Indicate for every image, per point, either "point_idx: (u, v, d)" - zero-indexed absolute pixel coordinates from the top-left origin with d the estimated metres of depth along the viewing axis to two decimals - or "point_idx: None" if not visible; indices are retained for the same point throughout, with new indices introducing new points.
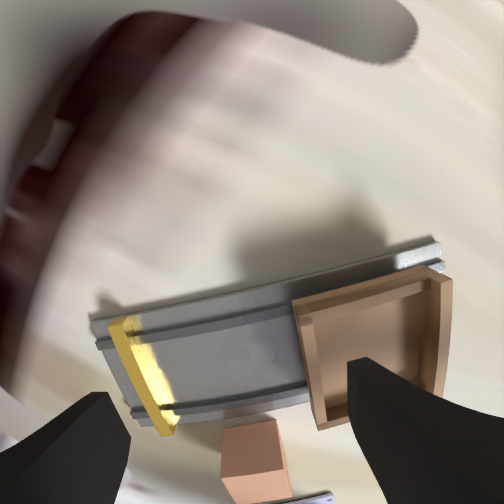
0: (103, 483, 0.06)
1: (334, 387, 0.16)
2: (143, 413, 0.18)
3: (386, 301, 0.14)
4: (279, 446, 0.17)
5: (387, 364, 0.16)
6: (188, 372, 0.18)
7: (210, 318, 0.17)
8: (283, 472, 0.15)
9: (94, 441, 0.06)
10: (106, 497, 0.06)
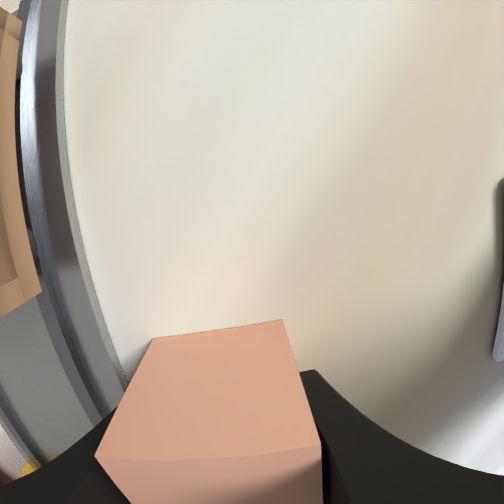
0: None
1: None
2: None
3: None
4: (129, 393, 0.06)
5: None
6: (63, 441, 0.09)
7: None
8: (113, 460, 0.04)
9: None
10: None
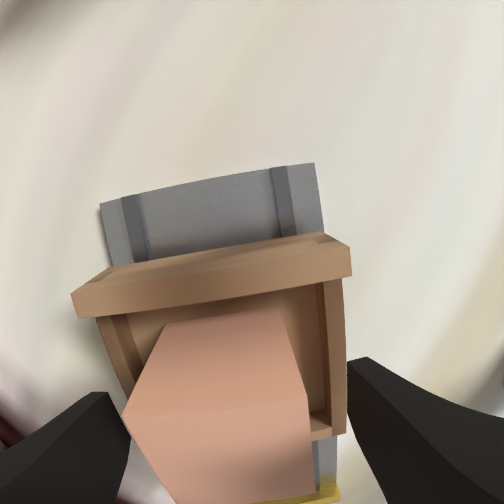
0: (103, 483, 0.06)
1: None
2: None
3: (129, 376, 0.10)
4: (148, 367, 0.08)
5: None
6: None
7: None
8: (138, 418, 0.06)
9: (94, 441, 0.06)
10: (106, 497, 0.06)
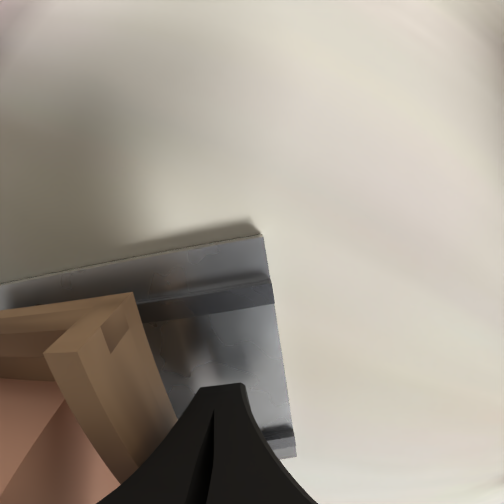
0: None
1: None
2: None
3: None
4: (30, 452, 0.04)
5: None
6: None
7: None
8: None
9: None
10: None
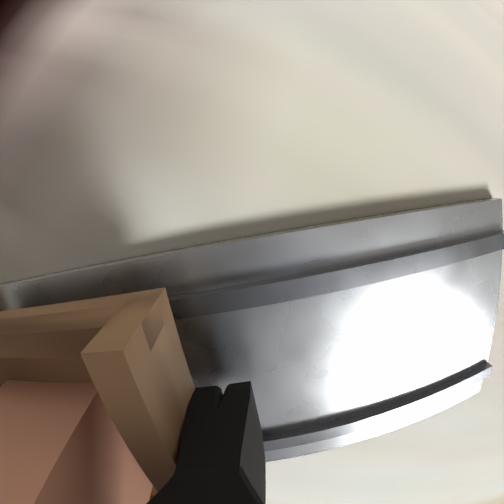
0: (261, 485, 0.06)
1: None
2: None
3: (17, 354, 0.05)
4: (58, 460, 0.04)
5: None
6: None
7: None
8: None
9: (254, 438, 0.06)
10: (263, 500, 0.06)
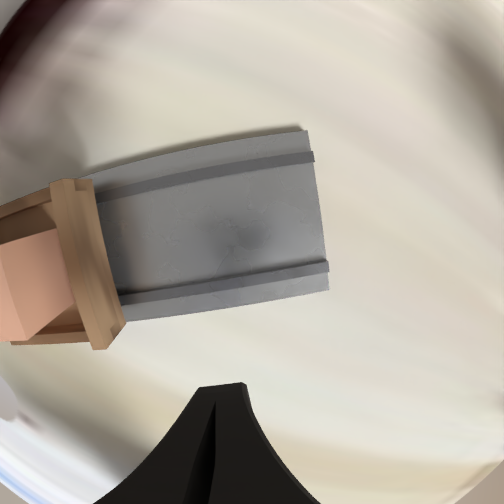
0: None
1: None
2: None
3: (22, 207, 0.12)
4: (27, 238, 0.11)
5: None
6: None
7: None
8: None
9: None
10: None
